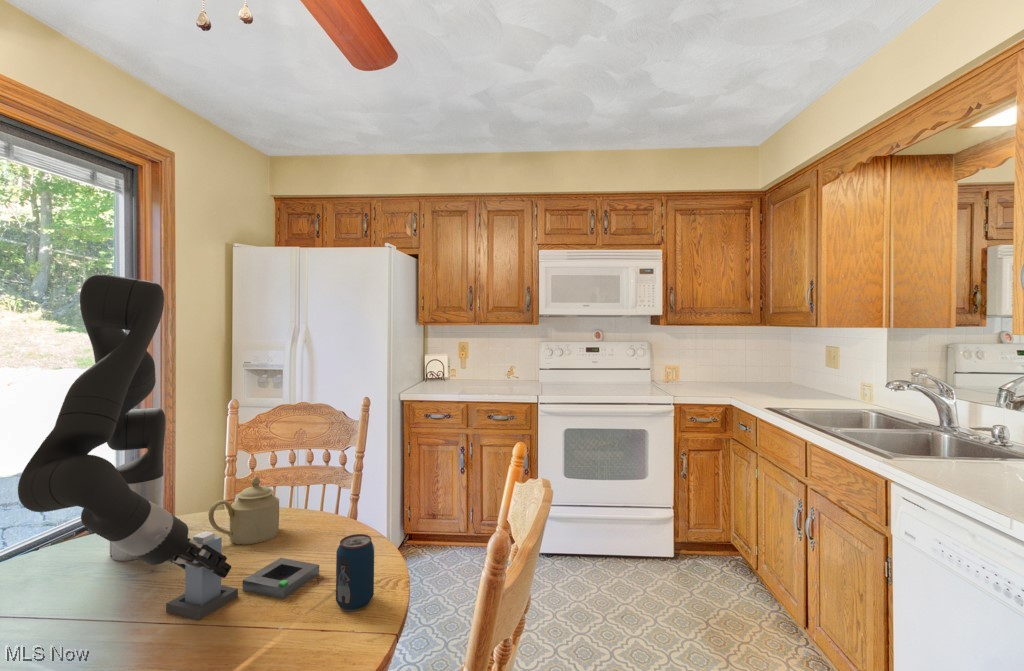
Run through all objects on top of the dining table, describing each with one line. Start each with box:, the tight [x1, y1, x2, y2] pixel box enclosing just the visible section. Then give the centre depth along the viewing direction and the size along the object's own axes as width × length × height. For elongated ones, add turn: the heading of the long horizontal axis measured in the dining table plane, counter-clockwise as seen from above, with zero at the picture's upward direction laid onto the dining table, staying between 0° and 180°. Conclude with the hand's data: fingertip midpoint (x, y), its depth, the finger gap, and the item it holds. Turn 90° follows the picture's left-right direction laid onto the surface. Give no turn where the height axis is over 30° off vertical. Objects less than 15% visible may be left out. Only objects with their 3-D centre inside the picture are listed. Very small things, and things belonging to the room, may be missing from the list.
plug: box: [184, 530, 223, 606], centre depth 89 cm, size 4×4×13 cm
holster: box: [165, 584, 239, 621], centre depth 89 cm, size 8×8×2 cm
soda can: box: [335, 533, 375, 612], centre depth 91 cm, size 7×7×12 cm
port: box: [241, 557, 320, 600], centre depth 97 cm, size 10×10×3 cm
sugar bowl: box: [207, 476, 280, 545], centre depth 118 cm, size 15×11×15 cm
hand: (209, 568), depth 90 cm, fingers open, 8 cm apart
